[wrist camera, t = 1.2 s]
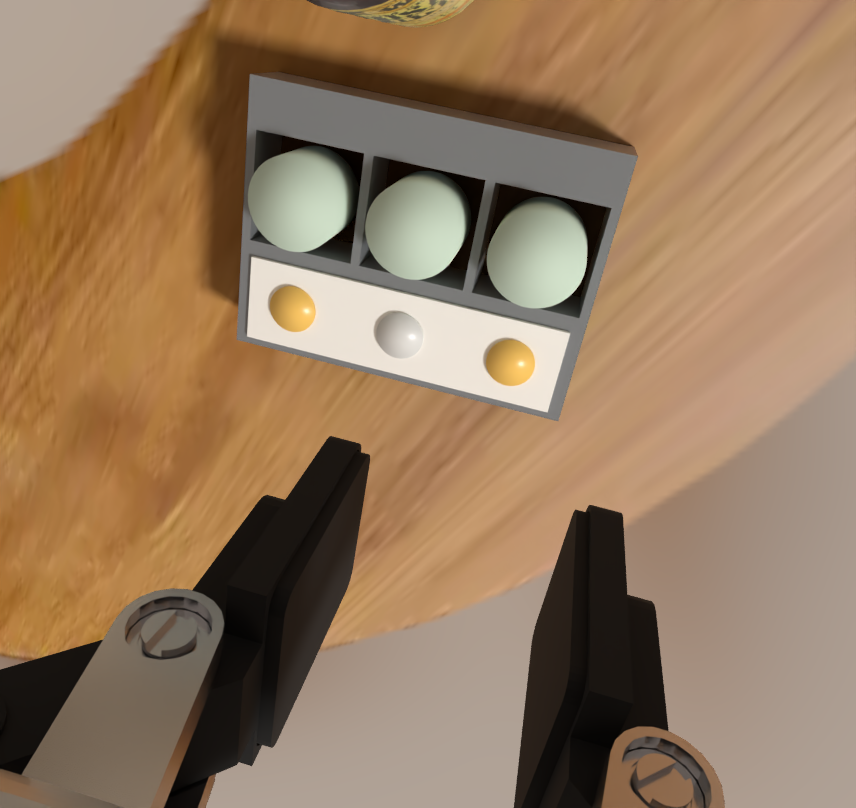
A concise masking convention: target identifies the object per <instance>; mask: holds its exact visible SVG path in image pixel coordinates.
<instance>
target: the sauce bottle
mask: <svg viewBox="0 0 856 808" xmlns="http://www.w3.org/2000/svg"><path fill="white" fill-rule="evenodd" d="M307 1H309V2H311V3H313V4H315V5H317V6H321V7H324V8H328V9H331V10H334V11H337V12H341V13H347V14H352V15H355V16H359V17H363V18H366V19H374V20H378V21H381V22H387V23H391V24H396V25H400V26H406V27H426V26H431V25H435V24H439V23H442V22H444V21H446V20H449V19H450V18H452V17H454V16H456V15H457V14H459V13H461V12H462V11H463V10H464V9H465V8H466V7H467V6H468V5H469V4H471V3H472V2H473V1H474V0H307Z"/></svg>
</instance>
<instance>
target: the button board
mask: <svg viewBox="0 0 856 808" xmlns="http://www.w3.org/2000/svg"><path fill="white" fill-rule="evenodd" d="M282 135H283V136H288V137H292V138H297V139H301V140H306V141H310V142H315V143H319V144H324V145H328V146H333V147H337V148H342V149H346V150H351V151H355V152H360V153H364V160H363V168H362V176H361V184H360V192H359V200H358V208H357V216H356V224H355V232H354V240H353V244H352V243H348V242H344V241H339V240H335V239H329V240H328V241H326V242H325V243H324V244H322V245H321V246H319V247H317V248H315V249H313V250H310V251H306V252H292V251H287V250H284V249H282V248H279V247H277V246H276V245H274V244H272V243H271V242H270V241H268V240H267V239H266V238H265V237H264V236H263V235H262V234H261V232H260V231H259V230H258V228H257V227H256V225H255V223H254V221H253V219H252V216H251V214H250V210H249V205H248V189H249V185H250V181H251V179H252V176H253V175H254V173H255V171H256V170H257V169H258V167H259V166H260V165H261V164H263V163H264V162H265V161H267V160H268V159H270V158H272V157H275V156H278V155H281V149H282ZM637 157H638V155H637V153H636V150H635V148H634V147H632V146H628V145H623V144H618V143H613V142H609V141H604V140H599V139H595V138H590V137H585V136H580V135H576V134H571V133H566V132H561V131H557V130H552V129H547V128H542V127H538V126H533V125H528V124H523V123H519V122H514V121H509V120H504V119H500V118H495V117H490V116H486V115H481V114H476V113H471V112H467V111H462V110H457V109H452V108H448V107H443V106H438V105H433V104H429V103H424V102H419V101H414V100H410V99H405V98H400V97H396V96H391V95H386V94H381V93H377V92H372V91H367V90H362V89H358V88H353V87H348V86H343V85H339V84H334V83H329V82H324V81H320V80H315V79H310V78H305V77H301V76H296V75H291V74H287V73H282V72H269V73H256V74H250V82H249V102H248V123H247V143H246V163H245V184H244V204H243V224H242V245H241V265H240V285H239V306H238V326H237V340H240V341H244V342H248V343H252V344H256V345H260V346H264V347H268V348H272V349H276V350H280V351H284V352H288V353H292V354H295V355H299V356H303V357H307V358H311V359H315V360H319V361H323V362H327V363H331V364H335V365H339V366H343V367H347V368H351V369H355V370H358V371H362V372H366V373H370V374H374V375H378V376H382V377H386V378H390V379H394V380H398V381H402V382H406V383H410V384H414V385H417V386H421V387H425V388H429V389H433V390H437V391H441V392H445V393H449V394H453V395H457V396H461V397H465V398H469V399H473V400H477V401H480V402H484V403H488V404H492V405H496V406H500V407H504V408H508V409H512V410H516V411H520V412H524V413H528V414H532V415H536V416H540V417H543V418H547V419H551V420H555V421H558V420H559V417H560V413H561V410H562V407H563V403H564V400H565V397H566V393H567V390H568V387H569V383H570V380H571V377H572V373H573V370H574V367H575V363H576V360H577V357H578V353H579V350H580V347H581V343H582V340H583V337H584V334H585V330H586V327H587V324H588V320H589V317H590V314H591V310H592V307H593V304H594V300H595V297H596V294H597V290H598V287H599V284H600V280H601V277H602V274H603V270H604V267H605V264H606V260H607V257H608V254H609V250H610V247H611V244H612V240H613V237H614V234H615V231H616V227H617V224H618V221H619V217H620V214H621V211H622V207H623V204H624V201H625V197H626V194H627V191H628V187H629V184H630V181H631V177H632V174H633V171H634V167H635V164H636V161H637ZM390 159H392V160H396V161H401V162H405V163H410V164H414V165H419V166H423V167H428V168H432V169H437V170H442V171H446V172H451V173H455V174H460V175H464V176H469V177H473V178H478V179H482V180H486V181H485V186H484V191H483V196H482V201H481V206H480V210H479V215H478V220H477V225H476V230H475V235H474V240H473V244H472V249H471V254H470V259H469V264H468V269H467V270H463V269H459V268H454V267H450V266H447V267H446V268H445V269H444V270H443V271H441V272H440V273H438V274H436V275H435V276H432V277H430V278H426V279H420V280H410V279H404V278H401V277H398V276H396V275H394V274H392V273H390V272H389V271H387V270H386V269H385V268H383V267H382V266H381V265H380V264H379V263H378V261H377V260H376V259H375V258H374V256H373V254H372V253H371V251H370V248H369V246H368V243H367V239H366V232H365V224H366V218H367V214H368V211H369V208H370V206H371V204H372V203H373V201H374V200H375V199H376V197H377V196H378V195H379V194H380V193H381V192H383V191H384V190H385V189H386V183H387V176H388V169H389V162H390ZM501 184H505V185H510V186H514V187H519V188H523V189H528V190H532V191H537V192H541V193H546V194H550V195H555V196H559V197H564V198H568V199H573V200H577V201H582V202H587V203H591V204H596V205H600V206H605V207H607V208H606V212H605V215H604V218H603V222H602V225H601V229H600V232H599V236H598V239H597V243H596V246H595V249H594V253H593V256H592V260H591V263H590V267H589V270H588V274H587V277H586V280H585V284H584V287H583V291H582V294H581V297H578V296H574V295H570V296H569V297H568V298H567V299H565V300H564V301H562V302H560V303H558V304H556V305H553V306H550V307H546V308H527V307H522V306H519V305H517V304H514V303H512V302H511V301H509V300H507V299H506V298H505V297H504V296H502V295H501V294H500V292H499V291H498V290H497V289H496V288H495V286H494V284H493V283H492V281H491V278H490V276H488V275H484V274H481V273H482V269H483V264H484V259H485V255H486V250H487V246H488V241H489V236H490V232H491V227H492V223H493V218H494V213H495V209H496V204H497V199H498V195H499V190H500V186H501Z"/></svg>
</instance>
